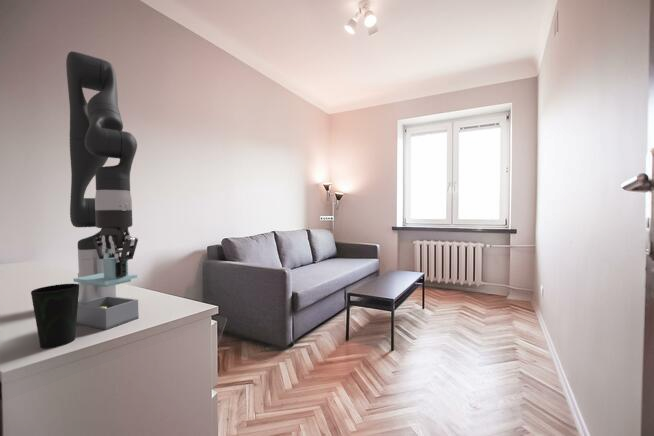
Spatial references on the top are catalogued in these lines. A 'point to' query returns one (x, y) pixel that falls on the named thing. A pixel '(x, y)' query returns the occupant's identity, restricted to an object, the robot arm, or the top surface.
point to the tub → (107, 312)
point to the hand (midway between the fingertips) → (116, 276)
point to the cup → (56, 314)
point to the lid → (106, 276)
